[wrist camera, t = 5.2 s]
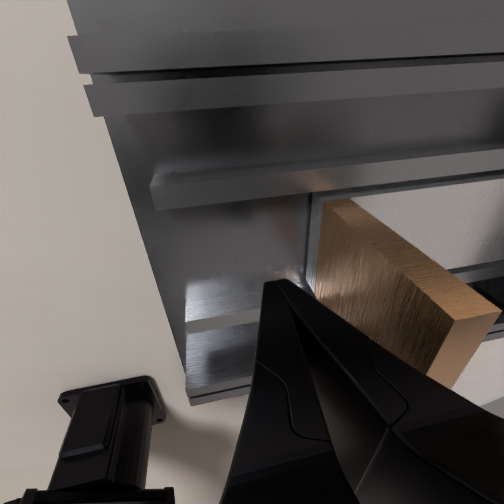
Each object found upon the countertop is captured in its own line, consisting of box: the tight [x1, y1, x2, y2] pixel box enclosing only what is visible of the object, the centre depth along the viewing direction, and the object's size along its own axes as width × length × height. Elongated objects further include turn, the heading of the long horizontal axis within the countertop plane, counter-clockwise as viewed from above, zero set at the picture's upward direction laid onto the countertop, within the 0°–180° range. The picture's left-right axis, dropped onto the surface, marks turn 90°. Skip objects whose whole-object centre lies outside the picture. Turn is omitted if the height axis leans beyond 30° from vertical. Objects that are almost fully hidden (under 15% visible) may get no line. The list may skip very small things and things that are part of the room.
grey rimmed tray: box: [67, 0, 504, 406], centre depth 13 cm, size 16×22×7 cm
